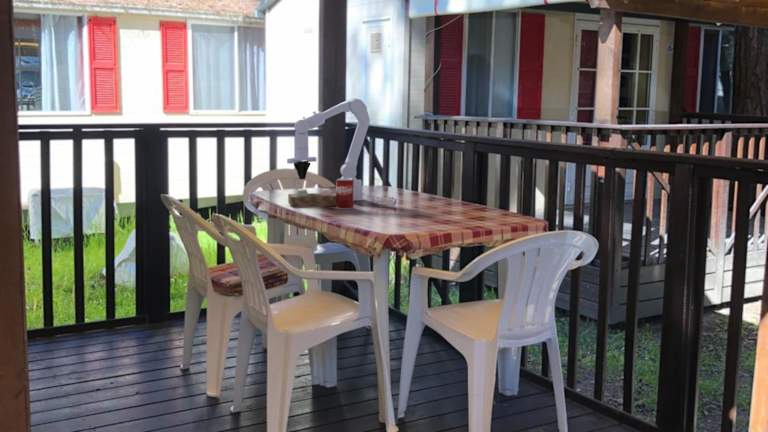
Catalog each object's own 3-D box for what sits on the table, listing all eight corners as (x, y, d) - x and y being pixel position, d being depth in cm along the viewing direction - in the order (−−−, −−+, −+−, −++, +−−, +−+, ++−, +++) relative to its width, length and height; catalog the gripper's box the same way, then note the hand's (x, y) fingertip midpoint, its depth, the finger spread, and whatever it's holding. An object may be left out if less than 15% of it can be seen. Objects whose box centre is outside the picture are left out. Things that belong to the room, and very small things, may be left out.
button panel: (334, 202, 356) (334, 192, 356) (339, 205, 347) (339, 195, 346) (288, 203, 352) (288, 194, 351) (291, 206, 342) (291, 197, 341)
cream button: (329, 197, 352) (329, 188, 352) (331, 198, 348) (331, 189, 348) (319, 197, 351) (319, 188, 351) (320, 199, 347) (320, 190, 347)
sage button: (306, 198, 350) (306, 189, 350) (307, 199, 346) (307, 190, 345) (295, 198, 349) (295, 189, 348) (297, 199, 345) (297, 190, 344)
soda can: (351, 209, 335) (351, 180, 333) (334, 209, 336) (334, 180, 334) (355, 207, 342) (355, 178, 340) (338, 206, 343) (338, 177, 342)
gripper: (309, 146, 364) (309, 177, 366) (282, 148, 354) (283, 179, 356) (319, 147, 359) (319, 178, 361) (292, 149, 349) (293, 181, 351)
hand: (302, 179), depth 358 cm, fingers closed
